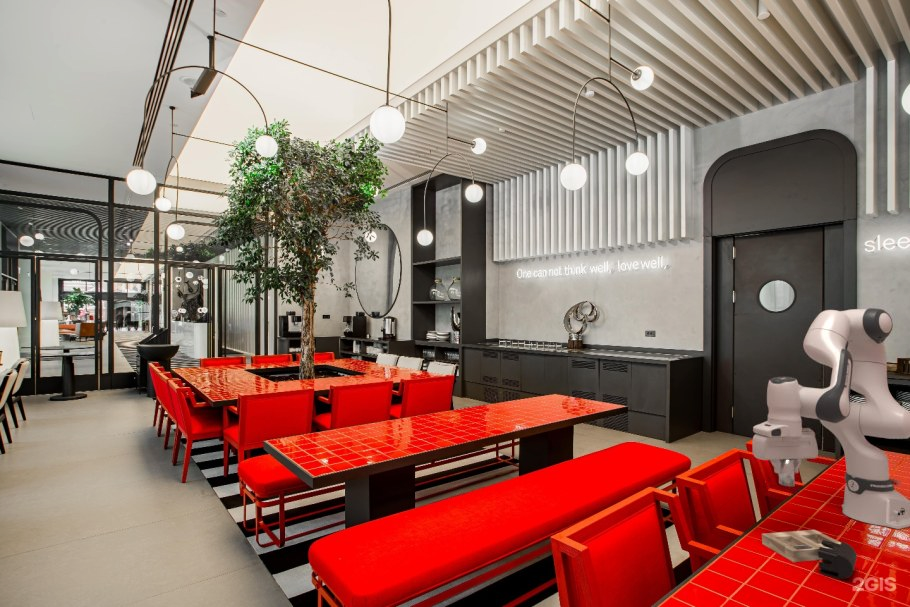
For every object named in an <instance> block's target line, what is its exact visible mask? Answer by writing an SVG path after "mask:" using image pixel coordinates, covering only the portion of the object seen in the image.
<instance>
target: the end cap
mask: <svg viewBox="0 0 910 607" xmlns="http://www.w3.org/2000/svg"><path fill="white" fill-rule="evenodd" d="M821 544H822V545H823V546H824V547H828V548H832V549H828V548H824V547H819V550H818V557H820V558H823V559H822V562H821V561H818V569H819V574H821V575H823V576H827V577H831V578H833V579H837V580H844V579H847V578H850V577H851V576H852V575H853V573H854V571H855V570H854V569H855V566H856V563H857V558H858V555H857V552H856V551H855V549H854V548H853V547H852V546H851V545H850V543H846V542H845V541H841V544H837V543H833V542H829V541H825V540H823V541H822V543H821Z"/></svg>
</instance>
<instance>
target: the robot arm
mask: <svg viewBox="0 0 910 607" xmlns="http://www.w3.org/2000/svg"><path fill="white" fill-rule="evenodd" d="M893 324H894V323H893V318H892V316H891V315H890V314H889V313H888V312H887V311H886V310H885V309H881V308H875V307H874V308H873V307H870V308H855V309H847V310H835V309H826V310H823V311H822V312H820V313H818V315H817V316H816V317H815V318H814V320H813V321H812V323H811V324H810V327H809V328H808V330H807V333H806V334H805V337H804V339H803V345H802V346H803V350H804V352H805V353H806V355H808V357H809V358H810V359H812V360H813V361H815V362H816V363H819V364H821V365H824V366H826V367H827V366H828V367H830V369H832V371H831V377H830V383H829V384H830V385H829V386H828V387H824V388H818V387H817V388H815V387H808V386H807V387H806V386H803V385H801V384H799V382H798V380H797V378H795V377H792V376H777V377H776V376H775V377H772V378H771V379H769V380H768V384H767V390H766V391H767V392H766V404H767V408H768V414H767V420H766V421H764V422H761V423H758V424H756V425H754V426H753V427H752V428H753V429H752V431H753V433H755V434H754V435H753V437H752V454H753V456H754V457H755V458H756V459H758V460H763V461H770V463H771V464H772V466H773V470H774V473H775V474H778V475H779V474H781V473H783V468H781V467H780V466H779V464H778V463H780V459H794V474H798V473H799V467H800V465H801V463H803V462H802V461H803V460H804V459H817V458H818V456H819V449H818V443H817V439H816V433H815V432H814V430H812V429H811V428H810V427H805V428H803V427H802V425H803V420H802V417H804V418H809V419H814V420H819V421H820V424H821V425H822V426H824V427H825V429H827V430H829V431H830V432H831V433H832V434H833V435H834V436H835V437H836V438H837V440H838V442H839V443H840V445H841V447H842V449H843V451H844V457H845V467H846V468H845V469H846V471H845V472H844V480H845V484H846V485H845V487H844V495H843V496H844V497H843V498H844V499H843V503H842V504H841V508H842V512H841V513H842V514H843V515H845V516H847V517H848V518H851V519H853V520H856V521H859V522H862V523H866V524H871V525H876V526H882V527H888V528H892V529H897V530H899V529H900V530H901V529H904V528H909V527H910V499H909V498H907V497H906V496H904V495H903V494H901V493H900V492H898V491H897V490H896V489H895V486H896V487H900V486H901V484H902V481H901V480H900V479H896V478H893V477H892V478H890V470H889V469H890V468H889V458H888V455H887V454H886V453H885V452H884V451H883V450H882V449H880V448H878V447H877V446H874V445H873V444H871V443H870V442H869V441H868V440H867V439H866V437H865V436H869V437H875V438H884V439H889V440H890V439H891V440H892V439H893V440H895V439H897V440H899V439H900V440H901V439H902V440H903V439H909V438H910V411H909V410H908V409H906V408H904V407H903V406H902V405H900V404H899V403H898V402H897V400H896V399H895V398H894V397H893V396H892V394H891V392H890V390H889V385H888V374H887V373H888V371H887V369H888V366H887V365H888V364H887V363H888V362H887V361H888V360H887V359H888V358H887V352H886V348H885V347H886V346H885V342H884V341H885V340H886V339H887V338H888V337H889V336H890V334H891V333H892V331H893V326H894V325H893ZM846 346H847V348H846ZM851 390H852V391H854V392H856V393H858V394H860V395H862V396H864V398H865V401H866V402H855V401H851V396H850V395H851ZM802 459H803V460H802Z"/></svg>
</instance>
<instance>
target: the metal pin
mask: <svg viewBox="0 0 910 607" xmlns="http://www.w3.org/2000/svg"><path fill="white" fill-rule="evenodd" d="M778 464H779V466H780V467H781V468H783V473H781V474H778V483H779V484H780V485H781V486H785V487H795V486H796V485H795V484H796V481H795V480H796V479H795V473H794V459H780V463H778Z"/></svg>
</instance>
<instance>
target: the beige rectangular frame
mask: <svg viewBox="0 0 910 607" xmlns="http://www.w3.org/2000/svg"><path fill="white" fill-rule="evenodd" d="M761 538H762V539H761V540H762V545H764V546H765V547H767V548H768V549H770V550H772V551H774V552H775V553H777V554H778V555H781V556H782V557H784V558H786V559H788V560H789V561H791V562H792V563H797V562H810V561H821V560H822V559H823V558H820V557H818V550H819V547H824V546H823V545H822V544H821V543H822V541H823V540H825V541H829V542H833V543H837V544H841V542H840V541H838V540H836V539H834V538H832V537H830V536H828V535H826V534H824V533H822V532H820V531H818V530H816V529H808V530H793V531H781V532H780V531H779V532H770V533H769V532H768V533H761ZM824 548H828V547H824ZM828 549H832V548H828Z"/></svg>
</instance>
